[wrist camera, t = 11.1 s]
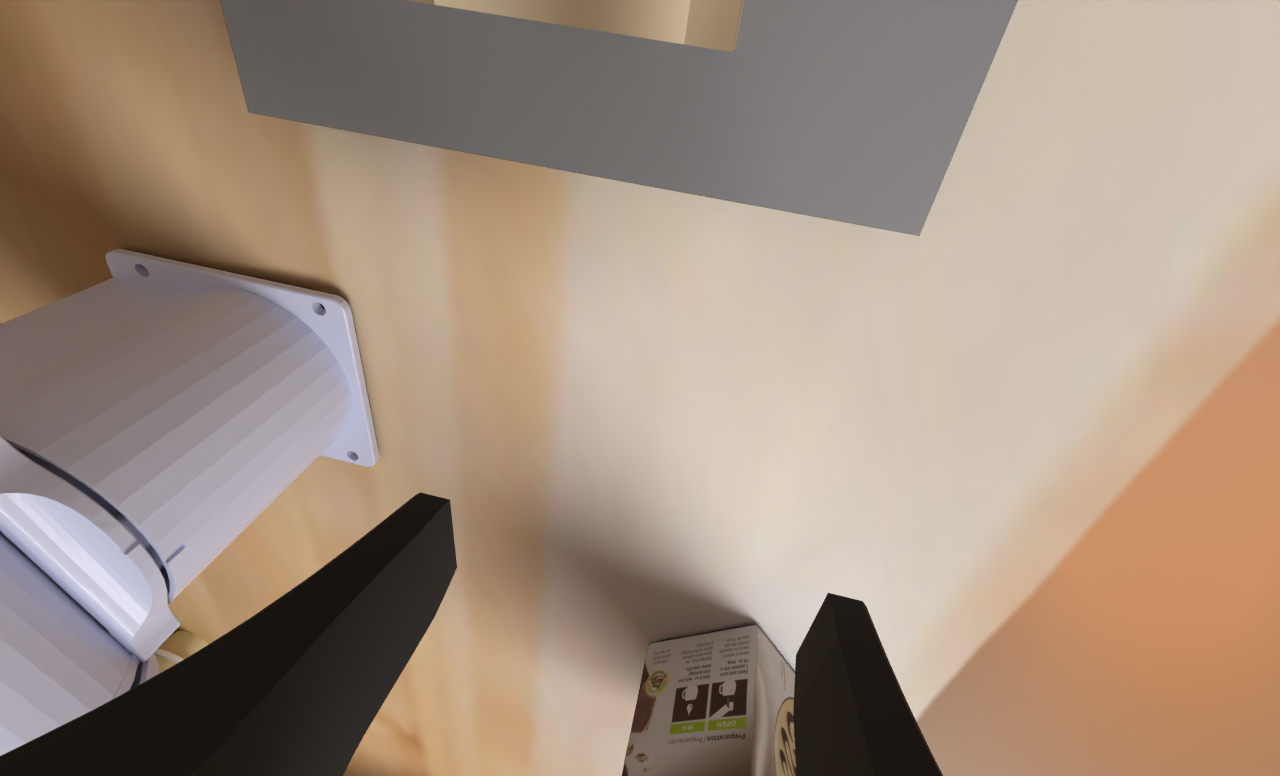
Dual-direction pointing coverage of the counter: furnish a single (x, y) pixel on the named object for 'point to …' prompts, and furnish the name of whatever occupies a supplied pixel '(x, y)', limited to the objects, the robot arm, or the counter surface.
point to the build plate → (648, 89)
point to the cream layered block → (177, 649)
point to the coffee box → (714, 708)
